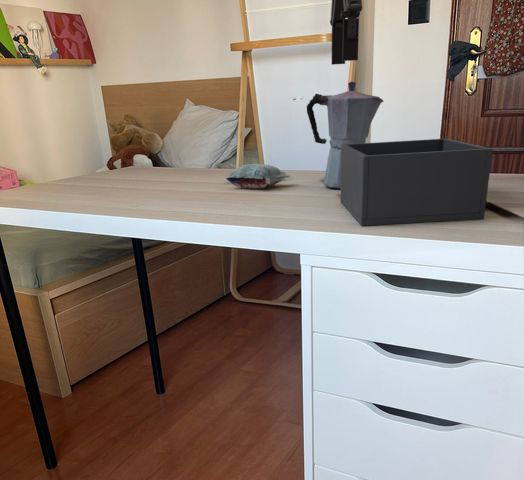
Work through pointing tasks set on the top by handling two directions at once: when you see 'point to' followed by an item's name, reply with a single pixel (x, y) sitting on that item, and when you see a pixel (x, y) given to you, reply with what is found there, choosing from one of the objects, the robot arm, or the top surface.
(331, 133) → the moka pot
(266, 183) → the packaged food
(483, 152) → the tub
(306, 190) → the top surface
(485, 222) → the top surface
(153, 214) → the top surface
